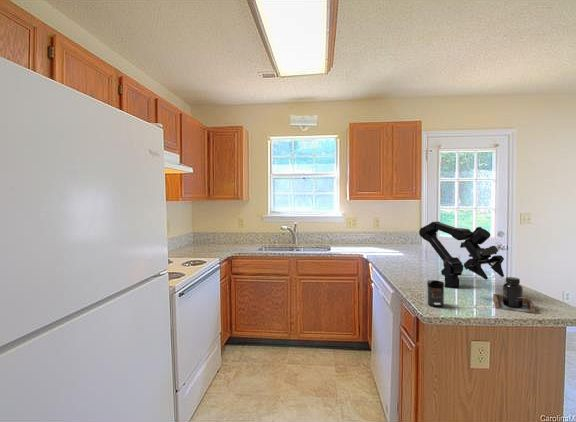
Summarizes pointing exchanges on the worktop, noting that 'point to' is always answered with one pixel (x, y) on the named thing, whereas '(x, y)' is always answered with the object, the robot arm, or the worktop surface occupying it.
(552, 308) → the worktop surface
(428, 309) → the worktop surface
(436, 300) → the supplement container
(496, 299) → the bay
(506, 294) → the supplement bottle
